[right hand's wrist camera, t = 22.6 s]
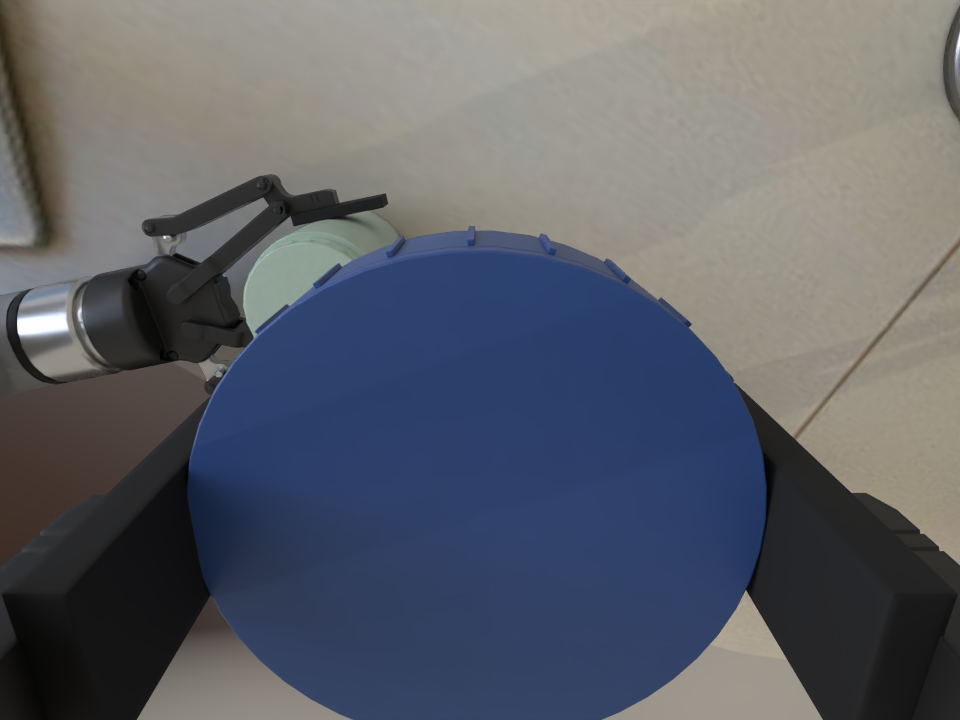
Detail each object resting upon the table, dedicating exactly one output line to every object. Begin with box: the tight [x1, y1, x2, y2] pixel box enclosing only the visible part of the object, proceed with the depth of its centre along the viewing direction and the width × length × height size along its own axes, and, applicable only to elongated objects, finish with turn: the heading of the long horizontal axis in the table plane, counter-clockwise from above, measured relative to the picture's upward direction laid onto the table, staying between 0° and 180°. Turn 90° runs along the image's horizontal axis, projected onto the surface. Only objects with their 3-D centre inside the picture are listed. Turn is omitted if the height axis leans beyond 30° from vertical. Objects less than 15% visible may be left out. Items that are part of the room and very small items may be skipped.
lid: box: [187, 226, 767, 720], centre depth 11 cm, size 10×10×2 cm
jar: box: [243, 211, 399, 338], centre depth 43 cm, size 9×9×16 cm
